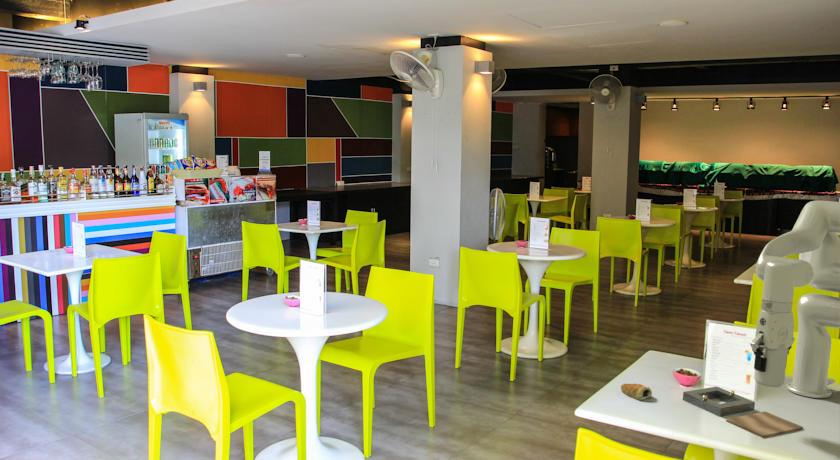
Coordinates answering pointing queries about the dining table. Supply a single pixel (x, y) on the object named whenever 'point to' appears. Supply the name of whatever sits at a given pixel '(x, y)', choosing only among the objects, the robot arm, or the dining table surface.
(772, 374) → the can
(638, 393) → the pastry
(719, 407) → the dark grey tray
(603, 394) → the dining table surface
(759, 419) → the mat
